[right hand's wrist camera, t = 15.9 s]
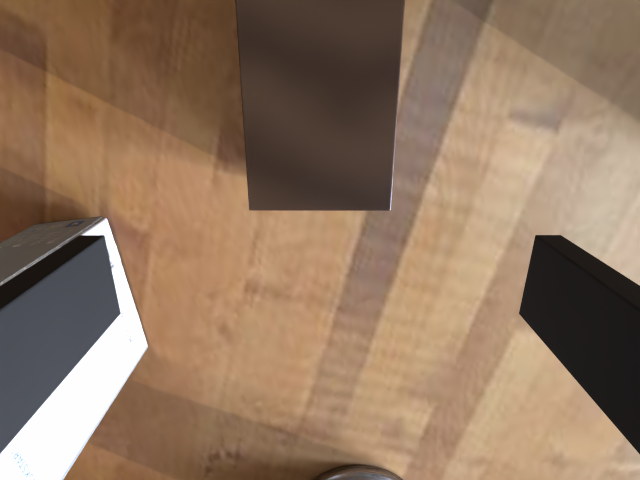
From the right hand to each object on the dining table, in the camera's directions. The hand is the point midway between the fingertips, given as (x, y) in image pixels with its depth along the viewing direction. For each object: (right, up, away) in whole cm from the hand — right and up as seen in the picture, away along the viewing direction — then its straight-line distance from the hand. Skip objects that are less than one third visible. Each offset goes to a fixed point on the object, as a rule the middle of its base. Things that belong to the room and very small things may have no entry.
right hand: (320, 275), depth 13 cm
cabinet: (0, +16, +21) cm, 27 cm away
